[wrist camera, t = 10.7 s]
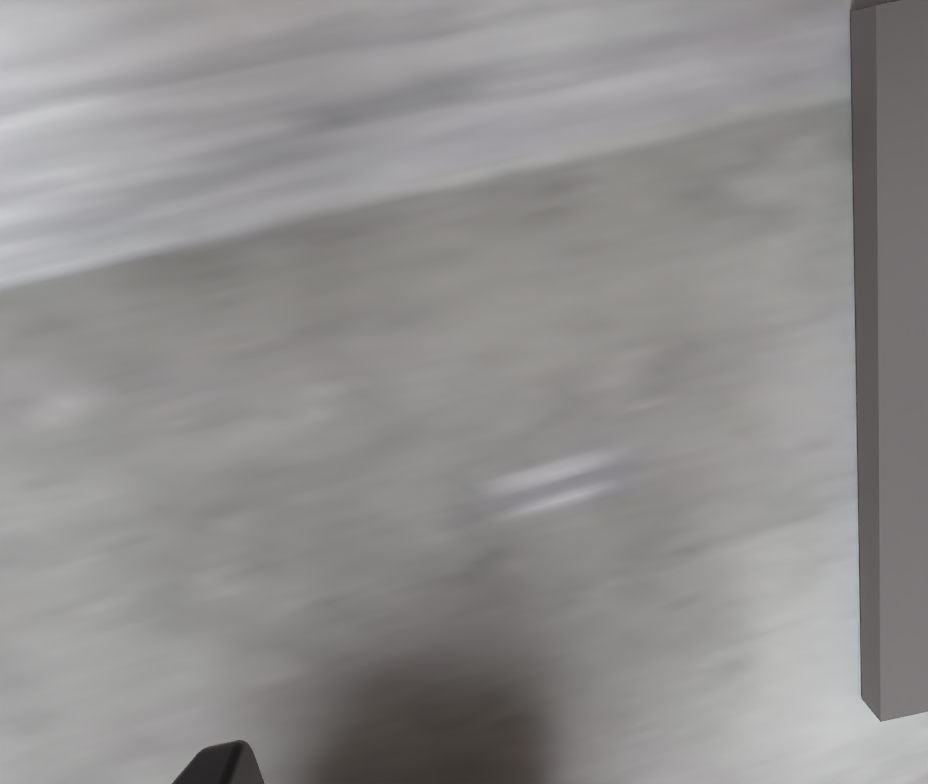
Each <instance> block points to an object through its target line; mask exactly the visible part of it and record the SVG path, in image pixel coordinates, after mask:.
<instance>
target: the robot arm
mask: <svg viewBox="0 0 928 784" xmlns="http://www.w3.org/2000/svg"><path fill="white" fill-rule="evenodd" d="M172 784H264V781H263V778H262V775H261V773H260V770H259V767H258V764H257V761H256V759H255V756H254V753H253V751H252V748H251V747H250V746H249V744H248V743H247V742H245V741H242V740H237V741H232V742H227V743H223V744H218V745H214V746H209V747H207V748H204V749H203V750H201V751H200V752H199V753H198V754H197V755H196V756H195V757H194V758H193V760H192V761H191V762H190V763H189V764H188V765H187V767H186V768H185V769H184V770H183V771H182V772H181V774H180V775H179V776H178V777H177V778H176V780H175V781H174V782H173V783H172Z"/></svg>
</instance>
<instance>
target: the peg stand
mask: <svg viewBox="0 0 928 784" xmlns="http://www.w3.org/2000/svg"><path fill="white" fill-rule="evenodd" d="M851 61H852V122H853V184H854V245H855V307H856V368H857V430H858V491H859V553H860V614H861V676H862V700H863V701H864V702H865V703H866V705H867V706H868V707H869V708H870V709H871V711H872V712H873V713H874V714H875V715H876V717H877V718H878V719H879V720H880V722H881V721H886V720H890V719H895V718H900V717H904V716H909V715H913V714H918V713H922V712H927V711H928V0H899V1H894V2H889V3H884V4H879V5H874V6H870V7H866V8H862V9H858V10H854V11H851Z"/></svg>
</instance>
